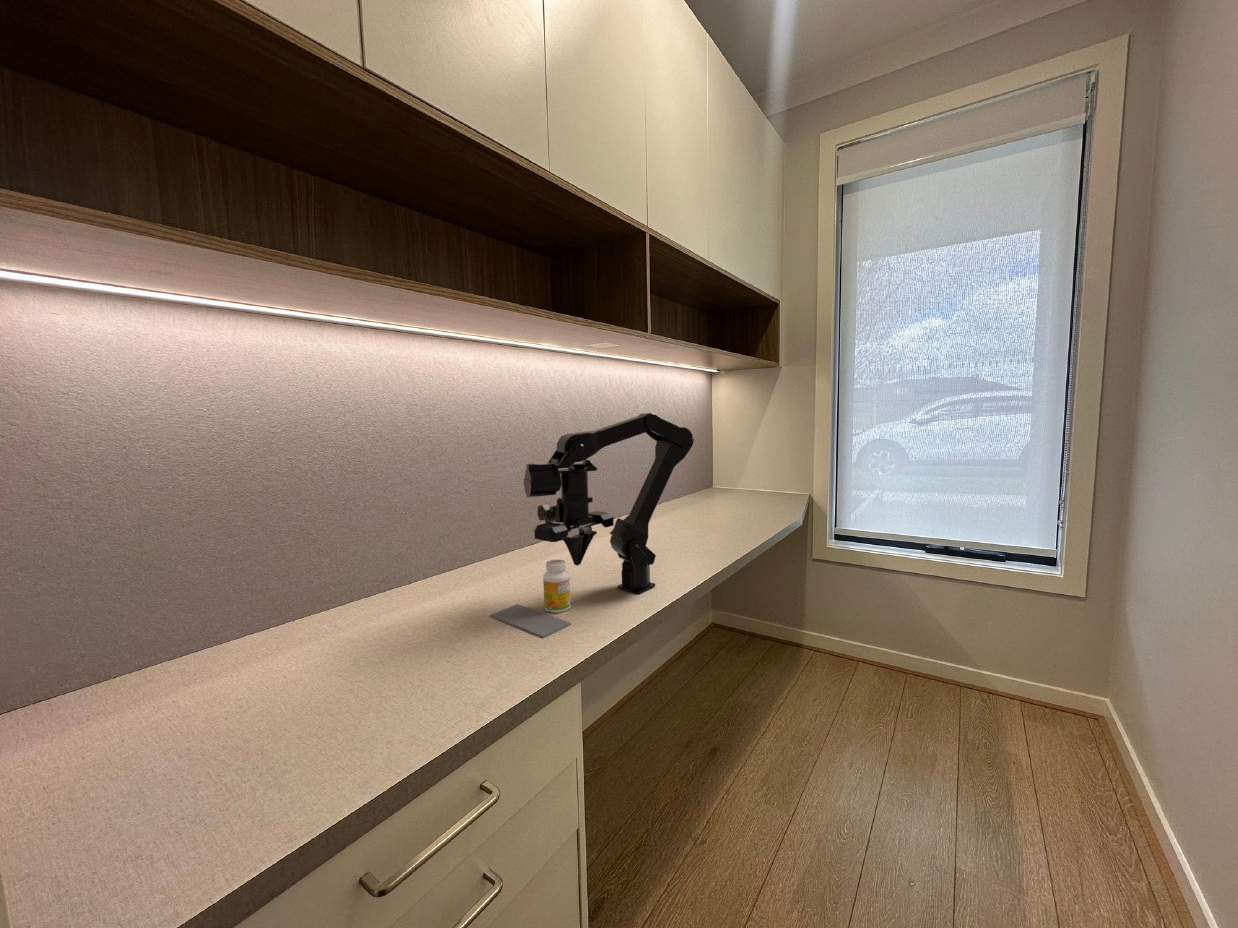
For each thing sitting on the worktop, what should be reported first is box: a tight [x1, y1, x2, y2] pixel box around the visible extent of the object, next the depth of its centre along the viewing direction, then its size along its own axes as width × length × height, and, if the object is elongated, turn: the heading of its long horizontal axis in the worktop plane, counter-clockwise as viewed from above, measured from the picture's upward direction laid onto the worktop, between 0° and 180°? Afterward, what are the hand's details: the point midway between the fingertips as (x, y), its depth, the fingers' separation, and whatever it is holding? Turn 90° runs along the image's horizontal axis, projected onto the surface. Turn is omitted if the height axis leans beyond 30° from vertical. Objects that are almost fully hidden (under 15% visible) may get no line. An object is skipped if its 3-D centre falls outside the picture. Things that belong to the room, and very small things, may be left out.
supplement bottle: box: [542, 559, 571, 614], centre depth 99 cm, size 5×5×10 cm
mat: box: [489, 603, 572, 639], centre depth 94 cm, size 7×16×1 cm, turn 51°
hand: (577, 564), depth 104 cm, fingers closed
